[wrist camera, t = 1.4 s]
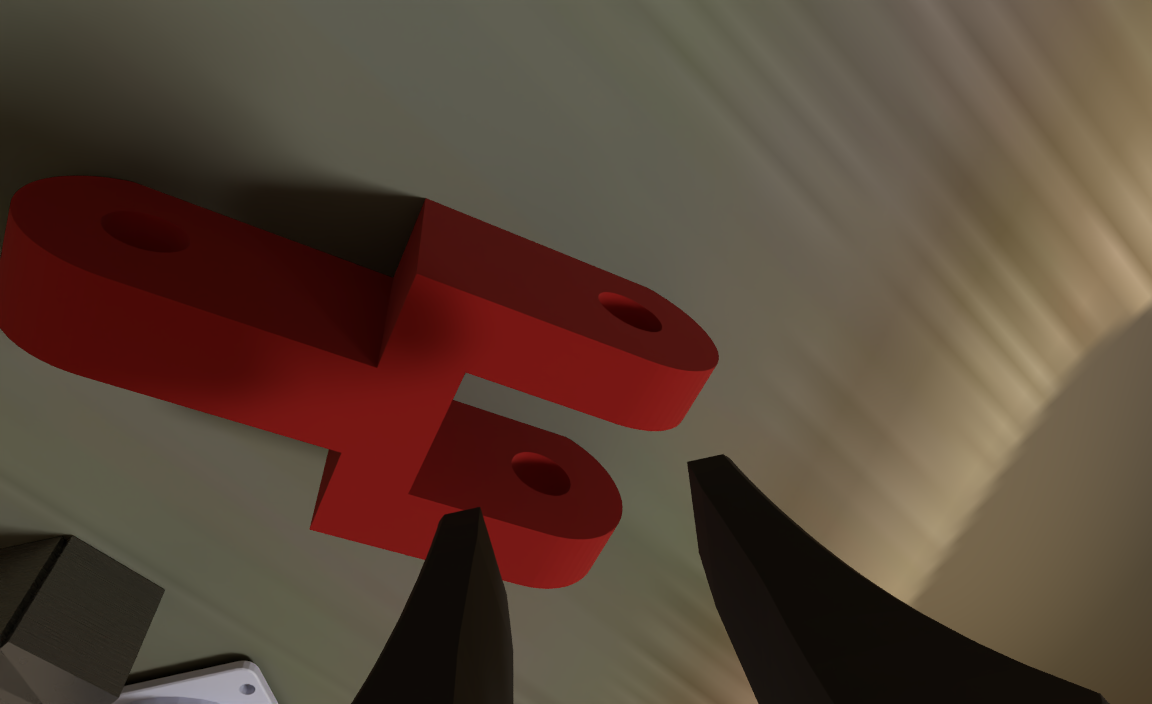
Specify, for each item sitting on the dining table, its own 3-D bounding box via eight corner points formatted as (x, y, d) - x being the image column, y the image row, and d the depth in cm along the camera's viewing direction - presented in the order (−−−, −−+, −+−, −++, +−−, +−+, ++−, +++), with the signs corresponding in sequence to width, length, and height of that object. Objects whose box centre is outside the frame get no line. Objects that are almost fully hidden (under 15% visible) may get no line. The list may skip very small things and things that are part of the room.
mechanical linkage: (691, 302, 23) (743, 395, 19) (582, 489, 26) (605, 607, 22) (90, 59, 19) (-23, 109, 14) (36, 320, 21) (-73, 429, 17)
